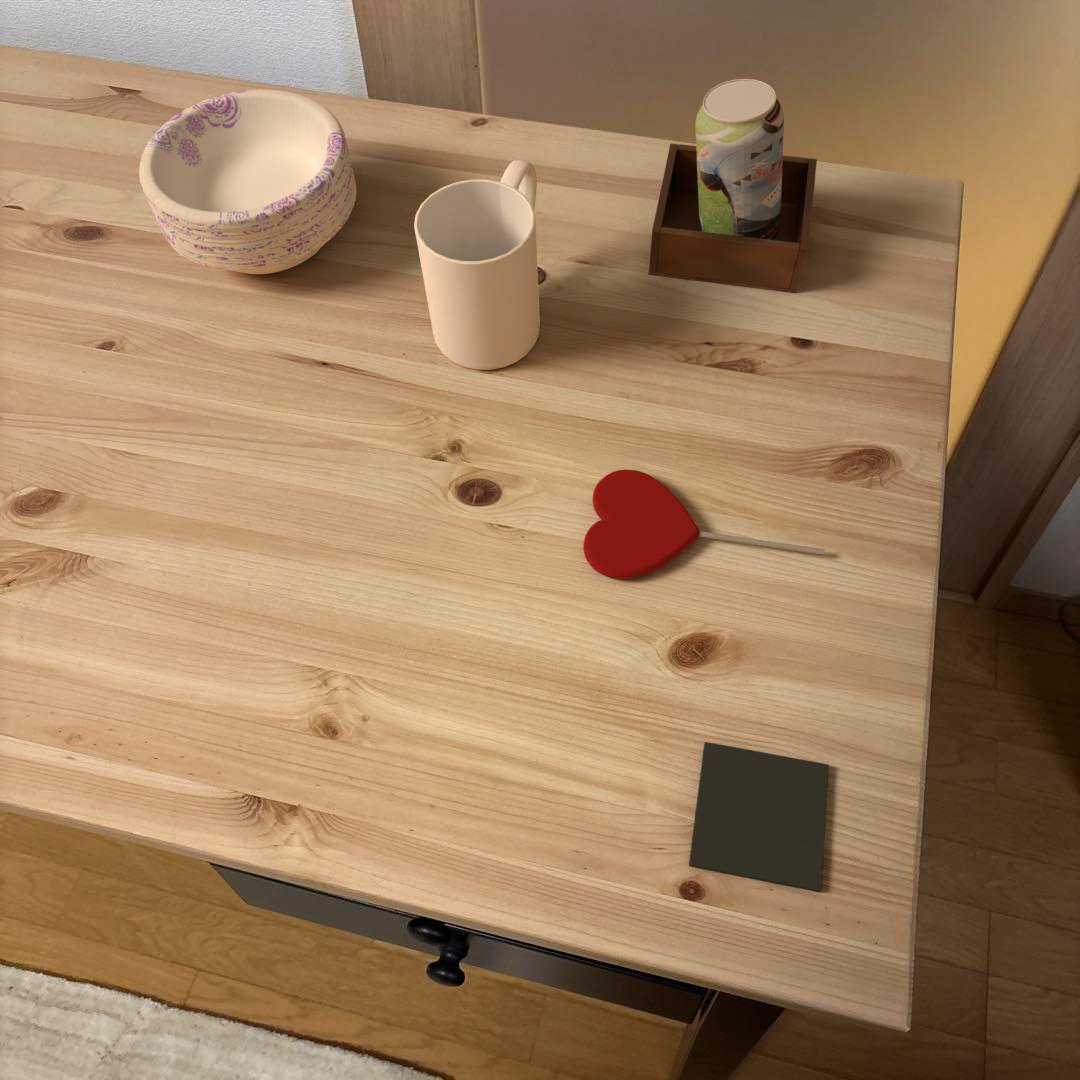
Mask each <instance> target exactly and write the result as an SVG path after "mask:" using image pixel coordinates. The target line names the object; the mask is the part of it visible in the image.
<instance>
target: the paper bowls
mask: <svg viewBox="0 0 1080 1080" xmlns="http://www.w3.org/2000/svg"><path fill="white" fill-rule="evenodd" d="M138 168H139V171H138V173H139V174H138V176H139V184H140V186H141V189H142V191H143V193H144V195H145V198H146V199H147V203H148V204H149V206H150V209H151V211H152V213H153V215H154V217H155V220H156V222H157V224H158V226H159V228H160V230H161V232H162V234H163V236H164V238H165V239H166V241H167V242H168V243H169V245H170V247H172V249H173V250H175V252H177V253H178V254H179V255H180V256H182V258H183V257H184V258H185V259H187V260H189V261H191V262H192V263H195V264H199V265H200V266H203V267H208V268H213V269H217V270H222V271H229V272H230V271H231V272H232V271H233V272H237V273H240V274H248V275H265V274H266V275H267V274H268V275H269V274H275V273H279V272H284V271H286V270H288V269H291V268H294V267H296V266H299V265H300V264H302V263H304V262H305V261H307V260H309V259H310V258H311V257H313V256H314V255H316V253H317V252H318V251H320V249H322V248H323V246H324V245H325V244H327V242H329V241H330V240H331V239H333V237H334V236H336V234H337V233H338V232H339V231H340V230H341V229H342V228H343V227H344V225H345V224H346V223H347V222H348V220H349V217H350V216H351V213H352V211H353V209H354V207H355V204H356V200H357V185H356V178H355V174H354V173H355V172H354V170H353V164H352V161H351V157H350V151H349V149H348V142H347V138H346V134H345V132H344V129H343V126H342V124H341V123H340V121H339V120H338V119H337V117H336V116H335V115H334V114H333V113H332V112H331V111H330V109H328V108H327V107H326V106H324V105H322V103H320V102H319V101H316V100H315V99H313V98H310V97H308V96H307V95H306V96H305V95H304V94H303V95H302V94H300V93H298V92H293V91H288V90H280V89H269V88H258V89H257V88H255V89H244V90H237V91H230V92H226V93H222V94H219V95H216V96H215V95H214V96H212V97H210V98H206V99H204V100H201V101H199V102H197V103H195V104H193V105H191V106H189V107H187V108H185V109H184V110H182V111H180V112H178V113H176V114H175V115H174V116H172V117H171V118H170V119H168V120H167V121H166V122H165V123H163V125H161V126H160V127H159V128H158V130H156V132H155V133H154V134H153V135H152V137H151V138H150V139H149V141H148V142H147V143H146V145H145V147H144V149H143V152H142V154H141V157H140V162H139V167H138Z"/></svg>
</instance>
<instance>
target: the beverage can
mask: <svg viewBox="0 0 1080 1080" xmlns="http://www.w3.org/2000/svg"><path fill="white" fill-rule="evenodd" d="M694 123H695V146H696V152H697V175H698V199H699V222H700V231H701V232H709V233H717V234H726V235H734V236H743V237H751V238H760V239H768V240H774V239H775V238H776V236H777V234H778V232H779V229H780V216H781V189H782V162H783V156H784V132H785V112H784V108H783V105H782V103H781V102H780V101H779V99H778V98H777V93H776V91H775V89H774V88H773V87H772V86H771V85H770V84H768V83H766V82H764V81H761V80H758V79H753V78H737V79H732V80H727V81H723V82H721V83H719V84H717V85H715V86H713V87H712V88H711V89H710V90H708V91H707V92H706V94H705V96H704V98H703V101H702V104H701V106H700V108H699V109H698V111H697V114H696V117H695V121H694Z"/></svg>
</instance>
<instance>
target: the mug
mask: <svg viewBox="0 0 1080 1080" xmlns="http://www.w3.org/2000/svg"><path fill="white" fill-rule="evenodd" d="M537 185H538V184H537V172H536V168H535V166H534V165H533V164H532V163H531V162H529V161H526V160H522V159H514V160H513V161H511V162H510V163H509V165H508V166H507V168H506V169H505V170H504V173H503V174H502V177H501V180H500V181H497V180H492V179H466V180H461V181H456V182H453V183H450V184H448V185H445V186H442V187H440V188H439V189H438V190H436V191H434V192H432V193H431V194H429V196H428V197H427V198H426V199H425V200H424V201H423V202H422V203H421V204H420V206H419V208H418V210H417V211H416V213H415V216H414V225H413V227H414V233H415V239H416V244H417V250H418V256H419V261H420V267H421V272H422V278H423V279H422V280H423V284H424V290H425V295H426V296H425V297H426V301H427V306H428V312H429V313H428V314H429V318H430V323H431V324H430V325H431V330H432V334H433V338H434V342H435V344H436V346H437V348H438V349H439V351H440V352H441V353H442V354H443V356H445V357H446V358H447V359H448V360H450V361H451V362H452V363H454V364H456V365H459V366H461V367H463V368H467V369H470V370H471V369H472V370H476V371H493V370H497V369H502V368H506V367H508V366H511V365H513V364H515V363H517V362H519V361H520V360H522V359H523V358H524V357H525V356H527V355H528V354H529V352H530V351H531V350H532V349H533V348H534V346H535V345H536V343H537V340H538V338H539V335H540V330H541V328H540V327H541V319H540V318H541V317H540V314H541V313H540V293H539V291H540V290H539V274H538V273H539V271H538V269H539V268H538V249H537V248H538V247H537V245H538V244H537V225H536V212H535V208H536V207H535V206H536V201H537V200H536V199H537V187H538V186H537Z"/></svg>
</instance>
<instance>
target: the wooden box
mask: <svg viewBox="0 0 1080 1080" xmlns="http://www.w3.org/2000/svg"><path fill="white" fill-rule="evenodd" d="M817 164H818V159H817V158H808V157H803V156H802V157H800V156H794V155H793V156H791V155H783V162H782V189H781V216H780V229H779V232H778V234H777V236H776V238H775V239H774V240H768V239H760V238H751V237H743V236H734V235H726V234H717V233H709V232H701V231H700V222H699V199H698V175H697V152H696V145H691V144H680V143H673V142H671V143H670V144H669V148H668V153H667V158H666V162H665V168H664V171H663V172H664V173H663V176H662V182H661V187H660V192H659V196H658V200H657V205H656V210H655V215H654V219H653V225H652V229H651V230H652V231H651V239H650V249H649V250H650V251H649V262H648V275H650V276H658V277H666V278H674V279H681V280H689V281H690V280H691V281H698V282H707V283H714V284H722V285H730V286H738V287H744V288H745V287H746V288H753V289H760V290H761V289H762V290H769V291H776V292H777V291H779V292H784V293H785V292H786V293H793V294H797V293H798V291H799V286H800V282H801V278H802V274H803V271H804V268H805V263H806V259H807V256H808V253H809V245H810V234H811V227H812V226H811V225H812V224H811V223H812V216H813V215H812V214H813V206H814V205H813V204H814V195H815V184H816V175H817Z"/></svg>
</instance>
